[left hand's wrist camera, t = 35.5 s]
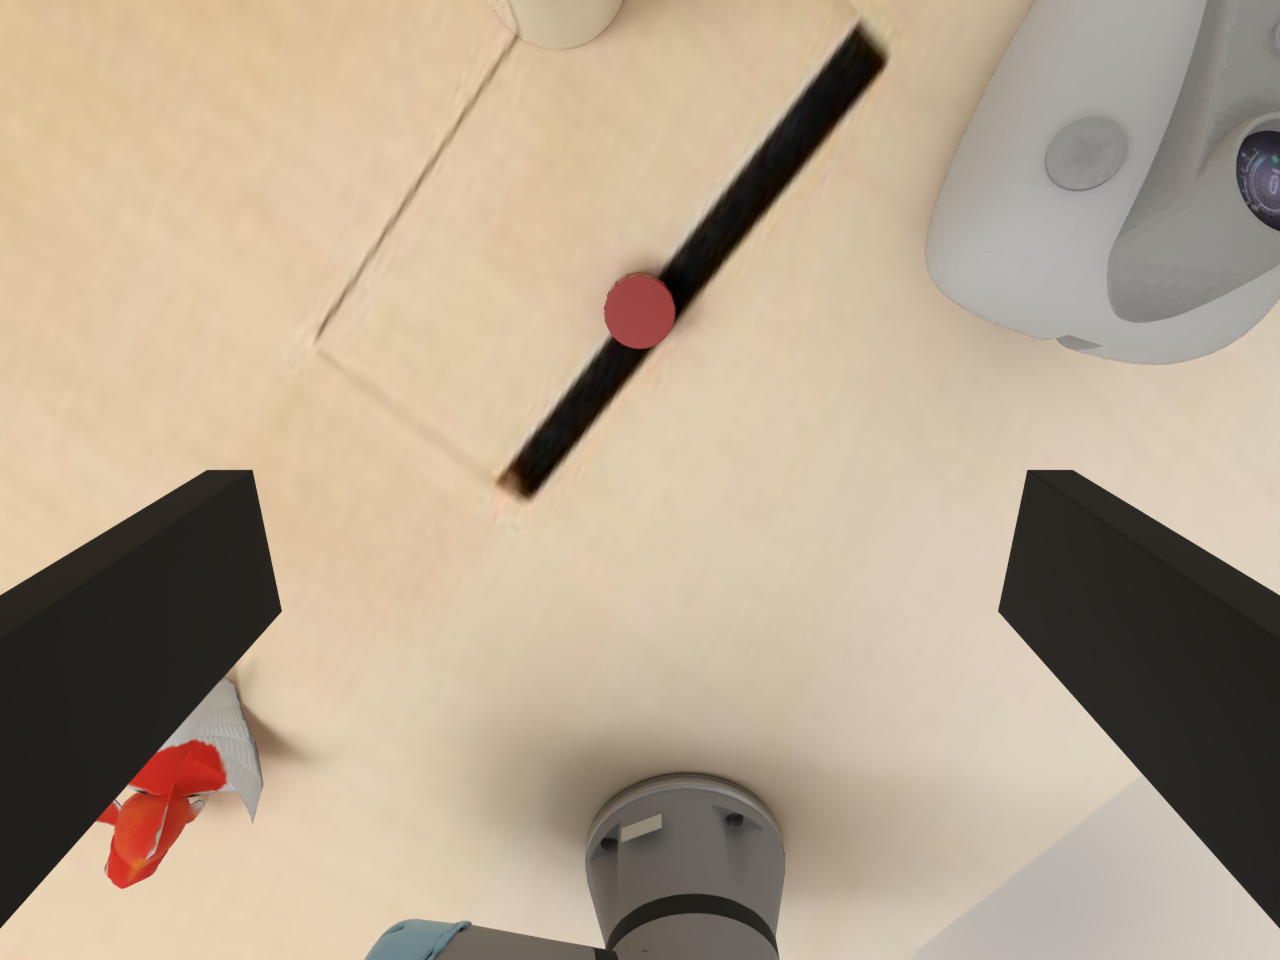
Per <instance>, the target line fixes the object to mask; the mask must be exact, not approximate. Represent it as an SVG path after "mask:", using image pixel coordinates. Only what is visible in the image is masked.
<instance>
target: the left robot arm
mask: <svg viewBox="0 0 1280 960" xmlns="http://www.w3.org/2000/svg"><path fill="white" fill-rule="evenodd" d="M281 612H282V610H281V605H280V600H279V595H278V590H277V586H276V581H275V576H274V571H273V566H272V562H271V557H270V552H269V547H268V542H267V537H266V533H265V528H264V523H263V518H262V513H261V509H260V504H259V499H258V494H257V489H256V484H255V480H254V475H253V470H207V471H205V472H203V473H202V474H200V475H198V476H197V477H195V478H193V479H192V480H190V481H188V482H187V483H185V484H183V485H182V486H180V487H178V488H177V489H175V490H173V491H172V492H170V493H169V494H167V495H165V496H164V497H162V498H160V499H159V500H157V501H155V502H154V503H152V504H150V505H149V506H147V507H145V508H144V509H142V510H140V511H139V512H137V513H136V514H134V515H132V516H131V517H129V518H127V519H126V520H124V521H122V522H121V523H119V524H117V525H116V526H114V527H112V528H111V529H109V530H107V531H106V532H104V533H103V534H101V535H99V536H98V537H96V538H94V539H93V540H91V541H89V542H88V543H86V544H84V545H83V546H81V547H79V548H78V549H76V550H74V551H73V552H71V553H69V554H68V555H66V556H65V557H63V558H61V559H60V560H58V561H56V562H55V563H53V564H51V565H50V566H48V567H46V568H45V569H43V570H41V571H40V572H38V573H36V574H35V575H33V576H32V577H30V578H28V579H27V580H25V581H23V582H22V583H20V584H18V585H17V586H15V587H13V588H12V589H10V590H8V591H7V592H5V593H3V594H2V595H0V928H1V927H2V926H3V925H4V924H5V923H6V921H7V920H8V919H9V918H10V917H11V916H12V915H13V914H14V912H15V911H16V910H17V909H18V908H19V907H20V906H21V905H22V903H23V902H24V901H25V900H26V899H27V898H28V897H29V896H30V894H31V893H32V892H33V891H34V890H35V889H36V888H37V887H38V885H39V884H40V883H41V882H42V881H43V880H44V879H45V878H46V876H47V875H48V874H49V873H50V872H51V871H52V870H53V868H54V867H55V866H56V865H57V864H58V863H59V862H60V861H61V859H62V858H63V857H64V856H65V855H66V854H67V853H68V852H69V850H70V849H71V848H72V847H73V846H74V845H75V844H76V843H77V841H78V840H79V839H80V838H81V837H82V836H83V835H84V834H85V832H86V831H87V830H88V829H89V828H90V827H91V826H92V825H93V823H94V822H95V821H96V820H97V819H98V818H99V817H100V816H101V814H102V813H103V812H104V811H105V810H106V809H107V808H108V807H109V805H110V804H111V803H112V802H113V801H114V800H115V799H116V798H117V796H118V795H119V794H120V793H121V792H122V791H123V790H124V789H125V787H126V786H127V785H128V784H129V783H130V782H131V781H132V780H133V778H134V777H135V776H136V775H137V774H138V773H139V772H140V771H141V769H142V768H143V767H144V766H145V765H146V764H147V763H148V761H149V760H150V759H151V758H152V757H153V756H154V755H155V754H156V752H157V751H158V750H159V749H160V748H161V747H162V746H163V745H164V743H165V742H166V741H167V740H168V739H169V738H170V737H171V736H172V734H173V733H174V732H175V731H176V730H177V729H178V728H179V727H180V725H181V724H182V723H183V722H184V721H185V720H186V719H187V718H188V716H189V715H190V714H191V713H192V712H193V711H194V710H195V709H196V707H197V706H198V705H199V704H200V703H201V702H202V701H203V700H204V698H205V697H206V696H207V695H208V694H209V693H210V692H211V691H212V689H213V688H214V687H215V686H216V685H217V684H218V683H219V682H220V680H221V679H222V678H223V677H224V676H225V675H226V674H227V673H228V671H229V670H230V669H231V668H232V667H233V666H234V665H235V663H236V662H237V661H238V660H239V659H240V658H241V657H242V656H243V654H244V653H245V652H246V651H247V650H248V649H249V648H250V647H251V645H252V644H253V643H254V642H255V641H256V640H257V639H258V638H259V636H260V635H261V634H262V633H263V632H264V631H265V630H266V629H267V627H268V626H269V625H270V624H271V623H272V622H273V621H274V620H275V618H276V617H277V616H278V615H279V614H280V613H281ZM998 612H999V613H1000V614H1001V615H1002V616H1003V617H1004V618H1005V620H1006V621H1007V622H1008V623H1009V624H1010V625H1011V626H1012V627H1013V629H1014V630H1015V631H1016V632H1017V633H1018V634H1019V635H1020V636H1021V638H1022V639H1023V640H1024V641H1025V642H1026V643H1027V644H1028V645H1029V647H1030V648H1031V649H1032V650H1033V651H1034V652H1035V653H1036V654H1037V656H1038V657H1039V658H1040V659H1041V660H1042V661H1043V662H1044V664H1045V665H1046V666H1047V667H1048V668H1049V669H1050V670H1051V671H1052V673H1053V674H1054V675H1055V676H1056V677H1057V678H1058V679H1059V680H1060V682H1061V683H1062V684H1063V685H1064V686H1065V687H1066V688H1067V689H1068V691H1069V692H1070V693H1071V694H1072V695H1073V696H1074V697H1075V698H1076V700H1077V701H1078V702H1079V703H1080V704H1081V705H1082V706H1083V707H1084V709H1085V710H1086V711H1087V712H1088V713H1089V714H1090V715H1091V716H1092V718H1093V719H1094V720H1095V721H1096V722H1097V723H1098V724H1099V725H1100V727H1101V728H1102V729H1103V730H1104V731H1105V732H1106V733H1107V734H1108V736H1109V737H1110V738H1111V739H1112V740H1113V741H1114V742H1115V743H1116V745H1117V746H1118V747H1119V748H1120V749H1121V750H1122V751H1123V752H1124V754H1125V755H1126V756H1127V757H1128V758H1129V759H1130V760H1131V761H1132V763H1133V764H1134V765H1135V766H1136V767H1137V768H1138V769H1139V771H1140V772H1141V773H1142V774H1143V775H1144V776H1145V777H1146V778H1147V780H1148V781H1149V782H1150V783H1151V784H1152V785H1153V786H1154V787H1155V789H1156V790H1157V791H1158V792H1159V793H1160V794H1161V795H1162V796H1163V798H1164V799H1165V800H1166V801H1167V802H1168V803H1169V804H1170V805H1171V807H1172V808H1173V809H1174V810H1175V811H1176V812H1177V813H1178V814H1179V816H1180V817H1181V818H1182V819H1183V820H1184V821H1185V822H1186V823H1187V825H1188V826H1189V827H1190V828H1191V829H1192V830H1193V831H1194V832H1195V834H1196V835H1197V836H1198V837H1199V838H1200V839H1201V840H1202V841H1203V843H1204V844H1205V845H1206V846H1207V847H1208V848H1209V849H1210V850H1211V852H1212V853H1213V854H1214V855H1215V856H1216V857H1217V858H1218V859H1219V861H1220V862H1221V863H1222V864H1223V865H1224V866H1225V867H1226V868H1227V870H1228V871H1229V872H1230V873H1231V874H1232V875H1233V876H1234V877H1235V879H1236V880H1237V881H1238V882H1239V883H1240V884H1241V885H1242V887H1243V888H1244V889H1245V890H1246V891H1247V892H1248V893H1249V894H1250V895H1251V897H1252V898H1253V899H1254V900H1255V901H1256V902H1257V903H1258V905H1259V906H1260V907H1261V908H1262V909H1263V910H1264V911H1265V912H1266V914H1267V915H1268V916H1269V917H1270V918H1271V919H1272V920H1273V921H1274V923H1275V924H1276V925H1277V926H1278V927H1279V928H1280V595H1278V594H1277V593H1275V592H1273V591H1272V590H1270V589H1268V588H1267V587H1265V586H1263V585H1262V584H1260V583H1258V582H1257V581H1255V580H1253V579H1252V578H1250V577H1248V576H1247V575H1245V574H1244V573H1242V572H1240V571H1239V570H1237V569H1235V568H1234V567H1232V566H1230V565H1229V564H1227V563H1225V562H1224V561H1222V560H1220V559H1219V558H1217V557H1215V556H1214V555H1212V554H1211V553H1209V552H1207V551H1206V550H1204V549H1202V548H1201V547H1199V546H1197V545H1196V544H1194V543H1192V542H1191V541H1189V540H1187V539H1186V538H1184V537H1182V536H1181V535H1179V534H1177V533H1176V532H1174V531H1173V530H1171V529H1169V528H1168V527H1166V526H1164V525H1163V524H1161V523H1159V522H1158V521H1156V520H1154V519H1153V518H1151V517H1149V516H1148V515H1146V514H1144V513H1143V512H1141V511H1140V510H1138V509H1136V508H1135V507H1133V506H1131V505H1130V504H1128V503H1126V502H1125V501H1123V500H1121V499H1120V498H1118V497H1116V496H1115V495H1113V494H1111V493H1110V492H1108V491H1107V490H1105V489H1103V488H1102V487H1100V486H1098V485H1097V484H1095V483H1093V482H1092V481H1090V480H1088V479H1087V478H1085V477H1083V476H1082V475H1080V474H1078V473H1077V472H1075V471H1073V470H1027V475H1026V480H1025V484H1024V489H1023V494H1022V499H1021V504H1020V509H1019V513H1018V518H1017V523H1016V528H1015V533H1014V537H1013V542H1012V547H1011V552H1010V557H1009V562H1008V566H1007V571H1006V576H1005V581H1004V586H1003V590H1002V595H1001V600H1000V605H999V610H998ZM586 873H587V882H588V886H589V890H590V893H591V897H592V900H593V904H594V907H595V911H596V914H597V918H598V921H599V925H600V928H601V932H602V936H603V939H604V943H605V949H600V948H594V947H590V946H584V945H579V944H573V943H567V942H561V941H555V940H550V939H544V938H539V937H534V936H528V935H523V934H518V933H512V932H507V931H501V930H496V929H491V928H485V927H480V926H475V925H472V924H471V922H469V921H461V922H457V923H446V922H437V921H429V920H420V919H409V920H404V921H401V922H399V923H397V924H395V925H394V926H392V927H391V928H390V929H388V930H387V931H386V932H385V933H384V934H383V935H382V936H381V937H380V938H379V940H378V941H377V942H376V943H375V944H374V946H373V947H372V949H371V950H370V952H369V953H368V955H367V956H366V958H365V960H779V954H778V949H777V944H776V930H777V923H778V916H779V909H780V903H781V896H782V889H783V882H784V874H785V855H784V849H783V844H782V839H781V835H780V831H779V828H778V825H777V823H776V820H775V818H774V817H773V815H772V813H771V812H770V810H769V809H768V808H767V807H766V805H765V804H764V803H763V802H762V801H761V800H760V799H758V798H757V797H756V796H755V795H754V794H752V793H751V792H749V791H748V790H746V789H744V788H742V787H741V786H739V785H737V784H734V783H732V782H730V781H727V780H724V779H720V778H716V777H712V776H707V775H699V774H673V775H666V776H660V777H656V778H652V779H649V780H646V781H642V782H640V783H638V784H635V785H633V786H631V787H629V788H627V789H625V790H624V791H622V792H621V793H619V794H618V795H616V796H615V797H614V798H613V799H611V800H610V801H609V802H608V803H607V804H606V805H605V806H604V807H603V808H602V810H601V811H600V812H599V814H598V815H597V817H596V818H595V820H594V822H593V824H592V826H591V829H590V831H589V835H588V839H587V850H586Z"/></svg>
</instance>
